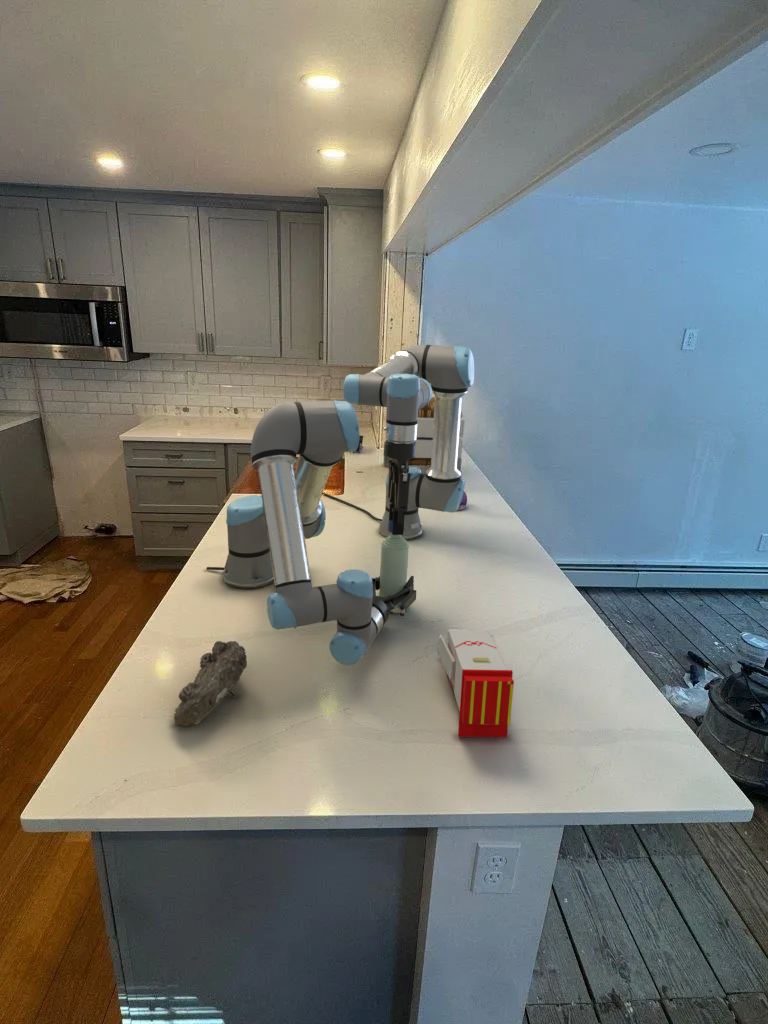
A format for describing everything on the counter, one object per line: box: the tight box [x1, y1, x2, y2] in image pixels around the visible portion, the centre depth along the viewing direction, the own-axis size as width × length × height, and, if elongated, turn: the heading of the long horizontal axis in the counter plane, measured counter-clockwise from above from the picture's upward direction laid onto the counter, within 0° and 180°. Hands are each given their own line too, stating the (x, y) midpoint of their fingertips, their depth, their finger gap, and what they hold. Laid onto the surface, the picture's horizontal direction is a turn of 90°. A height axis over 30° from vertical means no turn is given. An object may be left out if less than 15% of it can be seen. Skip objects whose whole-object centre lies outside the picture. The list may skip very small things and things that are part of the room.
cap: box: [388, 520, 393, 533], centre depth 144 cm, size 4×4×2 cm
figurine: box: [456, 470, 468, 511], centre depth 227 cm, size 9×10×15 cm
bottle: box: [378, 532, 410, 614], centre depth 147 cm, size 7×7×23 cm
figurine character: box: [352, 434, 364, 454], centre depth 311 cm, size 7×8×15 cm
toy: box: [437, 628, 515, 738], centre depth 117 cm, size 12×13×30 cm
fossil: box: [173, 640, 248, 727], centre depth 113 cm, size 22×10×15 cm
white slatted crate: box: [383, 396, 465, 471], centre depth 268 cm, size 34×33×41 cm
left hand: (398, 577), depth 154 cm, fingers closed on bottle, 7 cm apart
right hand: (395, 530), depth 144 cm, fingers closed on cap, 4 cm apart
